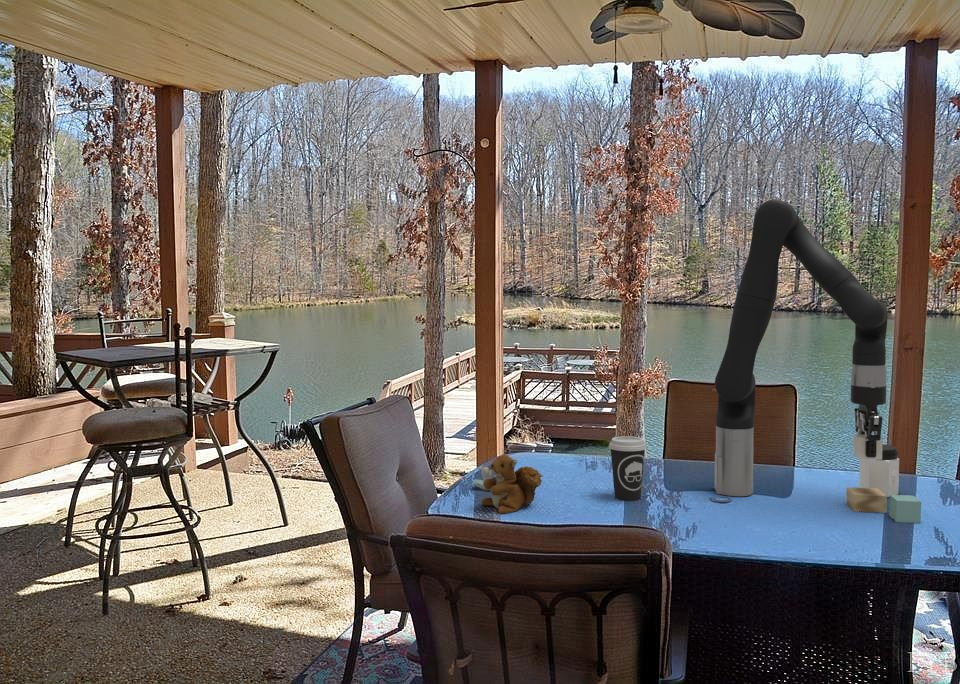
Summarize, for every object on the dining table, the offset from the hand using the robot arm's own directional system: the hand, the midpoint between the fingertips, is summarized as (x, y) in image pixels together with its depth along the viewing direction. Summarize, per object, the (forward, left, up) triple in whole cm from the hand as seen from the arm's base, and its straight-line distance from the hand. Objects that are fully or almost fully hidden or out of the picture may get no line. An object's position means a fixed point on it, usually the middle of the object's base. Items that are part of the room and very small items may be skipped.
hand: (867, 454), depth 183 cm
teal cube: (+6, -8, -13) cm, 17 cm away
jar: (+7, +15, -13) cm, 21 cm away
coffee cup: (-56, +1, -13) cm, 58 cm away
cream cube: (0, 0, -1) cm, 1 cm away
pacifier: (-93, +4, -13) cm, 94 cm away
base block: (0, 0, -13) cm, 13 cm away
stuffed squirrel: (-84, -12, -13) cm, 86 cm away
